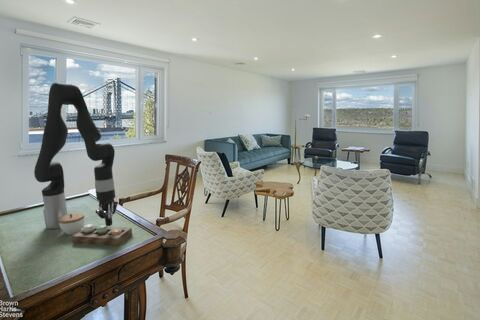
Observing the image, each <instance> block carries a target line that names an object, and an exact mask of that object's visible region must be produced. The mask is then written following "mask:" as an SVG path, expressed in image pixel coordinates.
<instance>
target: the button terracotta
mask: <svg viewBox="0 0 480 320" xmlns="http://www.w3.org/2000/svg"><path fill="white" fill-rule="evenodd" d="M121 233H122V230H121V229H115V230H113V231H111V235H120V234H121Z"/></svg>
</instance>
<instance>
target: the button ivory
mask: <svg viewBox="0 0 480 320" xmlns="http://www.w3.org/2000/svg"><path fill="white" fill-rule="evenodd" d="M94 226H95V225H94V224H93V223H89V224H84V226H83V228H82V230H83V232H84V233H90V232H93V231H94Z"/></svg>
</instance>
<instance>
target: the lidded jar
mask: <svg viewBox="0 0 480 320" xmlns="http://www.w3.org/2000/svg"><path fill="white" fill-rule="evenodd" d="M67 214H68V213H67ZM58 222H59V226H60V228H59V229H60V230H61V232H63V233H64V234H66V235H67V236H68V235H71V236H73V235H75V234H76V233H78V232H80V231H82V230H83V226H85V214H84V213H82V212H74V213H73V212H72V213H69V214H68V215H65V216H62V217H60V218H59V219H58Z"/></svg>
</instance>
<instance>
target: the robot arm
mask: <svg viewBox="0 0 480 320" xmlns="http://www.w3.org/2000/svg"><path fill="white" fill-rule="evenodd" d="M47 101H48V102H47V113H46V119H45V125H44V129H43V133H42V139H41V147H40V150H39V154H38V158H37V160H36V163H35V166H34V170H33V171H34V172H33V173H34V179H35V180H36V181H37V182H39V183H48V182H50V183H49V184H48V185H47V186H46V187H44V188H43V189H42V190H41V195H42V201H43V207H44V209H43V216H44V217H43V218H44V223H45V225H44V226H45V228H47V229H49V230H57V229H60V226H59V222H58V219H59V218H60V217H62V216H65V215H68V209H67V202H66V195H65V173H64V169H63V166H62V165H61V163H60V162H58V161H52V160H53V159H54V158H55V156H56V155H57V154H59V152H60V151H61V150H62V149H63V148H64V146H65V145H66V142H67V140H68V138H67V137H68V133H69V129H68V127H67V124H66V122H65V121H64V119H63V117H62V106H63V105H66V106H69V105H71V106H73V107H74V108H75V110H76V111H77V112H76V113H77V116H76V122H75V123H76V129H77V130H78V132H79V134H80V136H81V137H82V139H83V143H84V146H85V149H86V154H87V157H88V158H89V159H90V160H92V161H93V162H98V161H101V163H100V164H98V165H97V166H95V167H94V169H93V173H94V186H95V187H94V188H95V194H96V195H95V196H96V200H97V201H98V209H97V210H95V213H96V215H97V216H99V218H100V219H104V221H105V222H104V223H105V225H106V226H108V227H112V225H113V215H115V213H116V210H117V207H118V205H119V202H118V201H116V200H115V198H116V190H115V189H116V187H115V181H114V176H113V175H114V174H113V165H114V161H115V160H114V159H115V155H116V153H115V152H116V151H115V148H114V145H112V144H111V143H109V142H102V143H97V142H99V141H100V140H101V138H102V134H101V132H100V130H99V129H98V127H97V125H96V124H95V122H94V120H93V119H92V118H93V117H92V116H91V114H90V111H89V109H88V106H87V104H86V101H85V98H84V96H83V93H82V91H81V89H80V88H79V86H77V85H76V84H73V83H63V82H54V83H52V84H51V85H50V87H49V92H48V100H47Z"/></svg>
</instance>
